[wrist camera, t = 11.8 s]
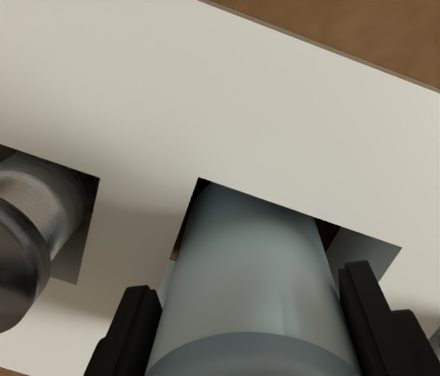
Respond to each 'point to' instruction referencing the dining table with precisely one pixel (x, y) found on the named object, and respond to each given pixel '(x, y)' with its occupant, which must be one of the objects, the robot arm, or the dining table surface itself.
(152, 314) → the robot arm
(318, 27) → the dining table surface
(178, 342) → the cylinder
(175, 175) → the housing
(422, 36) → the dining table surface
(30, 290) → the grey dome-capped cylinder
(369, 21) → the dining table surface
